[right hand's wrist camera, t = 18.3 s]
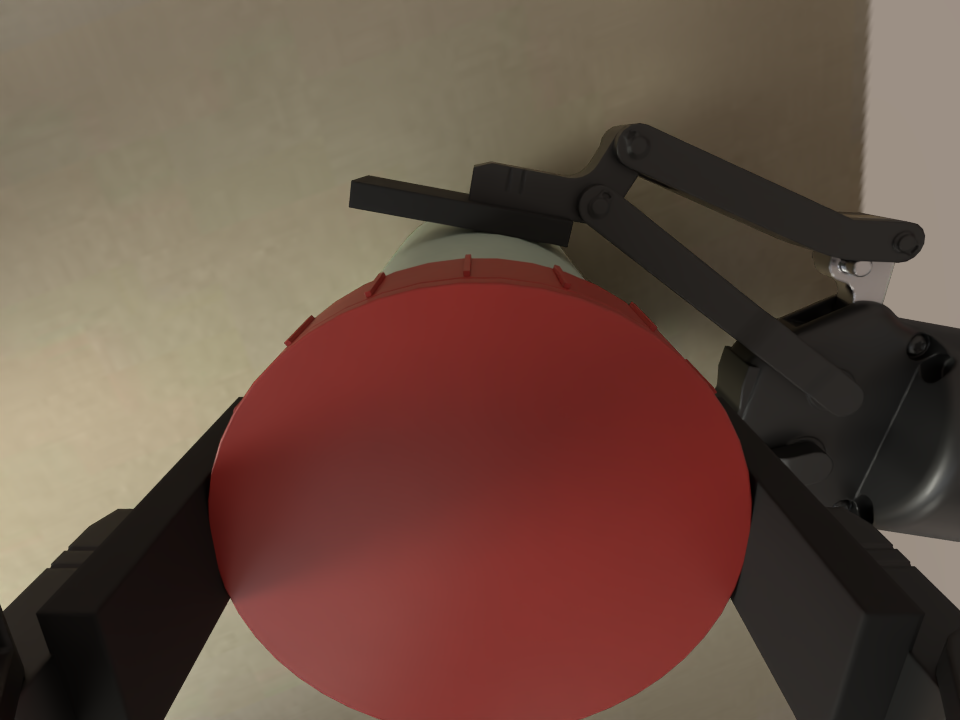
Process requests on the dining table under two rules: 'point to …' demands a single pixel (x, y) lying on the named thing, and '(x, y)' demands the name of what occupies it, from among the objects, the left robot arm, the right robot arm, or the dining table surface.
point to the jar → (473, 248)
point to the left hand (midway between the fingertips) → (345, 332)
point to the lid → (480, 498)
